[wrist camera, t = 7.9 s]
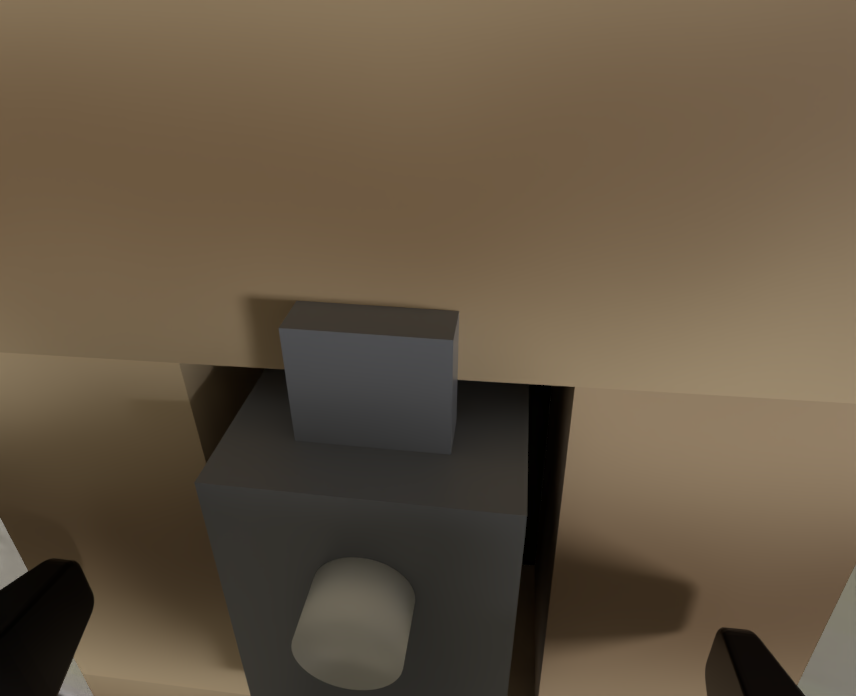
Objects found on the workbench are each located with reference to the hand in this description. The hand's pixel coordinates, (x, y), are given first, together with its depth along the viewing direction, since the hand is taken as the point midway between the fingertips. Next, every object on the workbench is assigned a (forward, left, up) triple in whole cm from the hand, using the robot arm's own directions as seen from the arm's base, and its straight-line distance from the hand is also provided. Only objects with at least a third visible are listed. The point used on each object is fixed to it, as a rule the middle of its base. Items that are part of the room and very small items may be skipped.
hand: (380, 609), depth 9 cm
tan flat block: (0, 0, -4) cm, 4 cm away
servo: (0, 0, -4) cm, 4 cm away
